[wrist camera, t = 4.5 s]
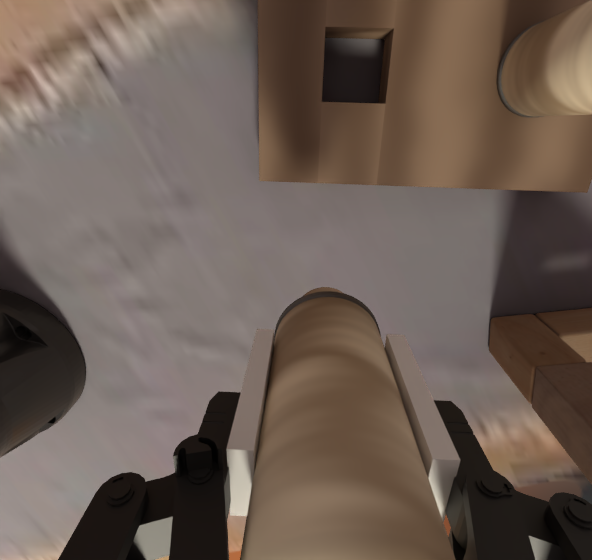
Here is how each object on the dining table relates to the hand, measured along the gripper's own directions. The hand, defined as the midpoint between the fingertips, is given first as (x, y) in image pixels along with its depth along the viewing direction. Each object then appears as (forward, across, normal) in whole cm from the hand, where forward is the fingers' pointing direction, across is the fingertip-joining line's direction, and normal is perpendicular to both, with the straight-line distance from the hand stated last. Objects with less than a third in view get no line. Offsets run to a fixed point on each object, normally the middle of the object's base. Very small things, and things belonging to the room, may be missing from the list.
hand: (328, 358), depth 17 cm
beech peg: (+4, 0, 0) cm, 4 cm away
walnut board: (+15, +6, +13) cm, 21 cm away
